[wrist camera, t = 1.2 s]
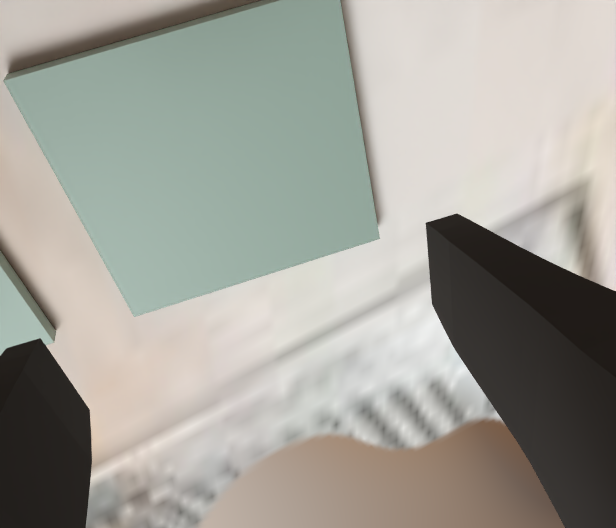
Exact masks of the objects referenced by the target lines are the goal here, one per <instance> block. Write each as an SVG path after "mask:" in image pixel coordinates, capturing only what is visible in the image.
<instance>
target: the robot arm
mask: <svg viewBox="0 0 616 528" xmlns="http://www.w3.org/2000/svg"><path fill="white" fill-rule="evenodd" d="M426 231H427V244H428V257H429V270H430V283H431V296H432V305H433V307H434V309H435V311H436V313H437V315H438V317H439V319H440V321H441V323H442V325H443V327H444V329H445V331H446V333H447V335H448V337H449V339H450V341H451V343H452V345H453V347H454V348H455V350H456V352H457V353H458V355H459V356H460V358H461V359H462V361H463V362H464V364H465V365H466V367H467V368H468V370H469V371H470V373H471V374H472V376H473V377H474V379H475V380H476V382H477V383H478V385H479V386H480V387H481V389H482V390H483V392H484V393H485V395H486V396H487V398H488V399H489V401H490V402H491V404H492V405H493V407H494V408H495V410H496V411H497V413H498V414H499V415H500V417H501V418H502V420H503V421H504V423H505V424H506V426H507V427H508V429H509V430H510V432H511V433H512V435H513V436H514V438H515V439H516V440H517V442H518V444H519V445H520V447H521V448H522V450H523V452H524V453H525V455H526V457H527V458H528V460H529V461H530V463H531V465H532V467H533V469H534V470H535V472H536V474H537V476H538V478H539V480H540V482H541V483H542V485H543V487H544V489H545V491H546V492H547V494H548V496H549V498H550V500H551V502H552V504H553V506H554V507H555V509H556V511H557V513H558V515H559V517H560V519H561V521H562V523H563V525H564V526H565V528H616V291H613V290H611V289H609V288H606V287H604V286H602V285H599V284H597V283H595V282H592V281H590V280H588V279H585V278H583V277H581V276H579V275H576V274H574V273H572V272H570V271H568V270H566V269H563V268H561V267H559V266H557V265H555V264H553V263H551V262H549V261H547V260H545V259H543V258H541V257H539V256H537V255H535V254H533V253H531V252H529V251H527V250H525V249H523V248H521V247H519V246H517V245H515V244H513V243H512V242H510V241H508V240H506V239H504V238H502V237H500V236H498V235H497V234H495V233H493V232H491V231H489V230H487V229H485V228H484V227H482V226H480V225H478V224H476V223H474V222H472V221H471V220H469V219H467V218H465V217H463V216H461V215H459V214H454V215H451V216H447V217H444V218H441V219H437V220H434V221H431V222H427V223H426ZM91 464H92V452H91V426H90V410H89V408H88V407H87V405H86V404H85V402H84V401H83V400H82V398H81V397H80V395H79V394H78V392H77V391H76V389H75V388H74V386H73V385H72V383H71V382H70V381H69V379H68V378H67V376H66V375H65V373H64V372H63V370H62V369H61V367H60V366H59V364H58V363H57V362H56V360H55V359H54V357H53V356H52V354H51V353H50V351H49V350H48V348H47V347H46V345H45V344H44V343H43V341H42V340H41V338H39V339H36V340H32V341H29V342H26V343H22V344H19V345H15V346H12V347H9V348H6V349H5V351H4V352H3V353H2V354H1V355H0V528H85V527H86V518H87V508H88V498H89V487H90V477H91Z"/></svg>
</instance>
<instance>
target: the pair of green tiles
mask: <svg viewBox="0 0 616 528" xmlns="http://www.w3.org/2000/svg"><path fill="white" fill-rule="evenodd" d="M4 83H5V85H6V86H7V88H8V90H9V92H10V94H11V96H12V97H13V99H14V101H15V103H16V105H17V106H18V108H19V110H20V112H21V114H22V115H23V117H24V119H25V121H26V123H27V124H28V126H29V128H30V130H31V132H32V133H33V135H34V137H35V139H36V141H37V142H38V144H39V146H40V148H41V150H42V151H43V153H44V155H45V157H46V159H47V160H48V162H49V164H50V166H51V168H52V169H53V171H54V173H55V175H56V177H57V178H58V180H59V182H60V184H61V186H62V188H63V189H64V191H65V193H66V195H67V197H68V198H69V200H70V202H71V204H72V206H73V207H74V209H75V211H76V213H77V215H78V216H79V218H80V220H81V222H82V224H83V225H84V227H85V229H86V231H87V233H88V234H89V236H90V238H91V240H92V242H93V243H94V245H95V247H96V249H97V251H98V252H99V254H100V256H101V258H102V260H103V261H104V263H105V265H106V267H107V269H108V271H109V272H110V274H111V276H112V278H113V280H114V281H115V283H116V285H117V287H118V289H119V290H120V292H121V294H122V296H123V298H124V299H125V301H126V303H127V305H128V307H129V308H130V310H131V312H132V314H133V316H134V317H136V316H139V315H142V314H145V313H148V312H151V311H155V310H158V309H161V308H164V307H167V306H170V305H173V304H177V303H180V302H183V301H186V300H189V299H192V298H195V297H199V296H202V295H205V294H208V293H211V292H214V291H217V290H221V289H224V288H227V287H230V286H233V285H236V284H239V283H242V282H246V281H249V280H252V279H255V278H258V277H261V276H264V275H268V274H271V273H274V272H277V271H280V270H283V269H286V268H290V267H293V266H296V265H299V264H302V263H305V262H308V261H312V260H315V259H318V258H321V257H324V256H327V255H330V254H334V253H337V252H340V251H343V250H346V249H349V248H352V247H355V246H359V245H362V244H365V243H368V242H371V241H374V240H377V239H380V237H379V231H378V225H377V219H376V213H375V207H374V201H373V195H372V189H371V183H370V177H369V171H368V165H367V159H366V153H365V147H364V141H363V134H362V128H361V122H360V116H359V110H358V104H357V98H356V92H355V86H354V80H353V74H352V68H351V62H350V56H349V50H348V44H347V38H346V32H345V26H344V20H343V14H342V8H341V2H340V0H261V1H257V2H254V3H250V4H247V5H243V6H240V7H237V8H233V9H230V10H226V11H223V12H219V13H216V14H212V15H209V16H206V17H202V18H199V19H195V20H192V21H188V22H185V23H181V24H178V25H175V26H171V27H168V28H164V29H161V30H157V31H154V32H150V33H147V34H144V35H140V36H137V37H133V38H130V39H126V40H123V41H119V42H116V43H112V44H109V45H106V46H102V47H99V48H95V49H92V50H88V51H85V52H81V53H78V54H75V55H71V56H68V57H64V58H61V59H57V60H54V61H50V62H47V63H44V64H40V65H37V66H33V67H30V68H26V69H23V70H19V71H16V72H13V73H9V74H7V76H6V77H5V79H4ZM55 335H56V331H55V329H54V328H53V326H52V325H51V323H50V322H49V321H48V319H47V318H46V316H45V315H44V313H43V312H42V310H41V309H40V307H39V306H38V305H37V303H36V302H35V300H34V299H33V297H32V296H31V294H30V293H29V291H28V290H27V289H26V287H25V286H24V284H23V283H22V281H21V280H20V278H19V277H18V275H17V274H16V273H15V271H14V270H13V268H12V267H11V265H10V264H9V262H8V261H7V259H6V258H5V257H4V255H3V254H2V252H1V251H0V355H1V354H2V353H3V352H4V351H5V349H6V348H9V347H12V346H15V345H19V344H22V343H26V342H29V341H32V340H36V339H39V338H41V340H42V341H43V343H44V344H45V345H48V344H51V343H54V340H55Z"/></svg>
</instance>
